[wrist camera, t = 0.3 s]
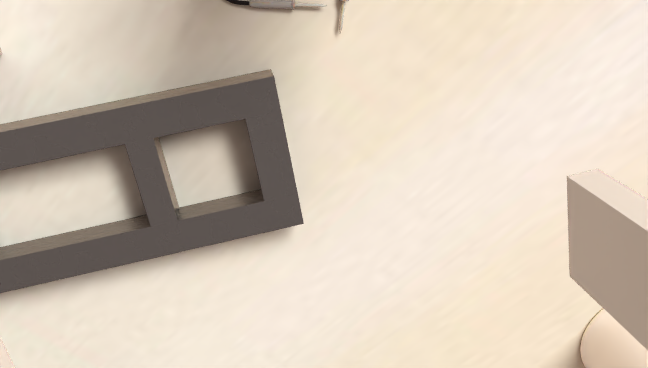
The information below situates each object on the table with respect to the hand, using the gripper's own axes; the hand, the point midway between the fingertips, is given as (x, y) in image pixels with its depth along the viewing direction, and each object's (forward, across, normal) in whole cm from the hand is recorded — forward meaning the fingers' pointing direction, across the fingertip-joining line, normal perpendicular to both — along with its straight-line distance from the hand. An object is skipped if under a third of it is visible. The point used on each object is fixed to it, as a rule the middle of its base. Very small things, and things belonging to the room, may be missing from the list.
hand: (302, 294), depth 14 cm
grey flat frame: (+26, -10, -5) cm, 29 cm away
